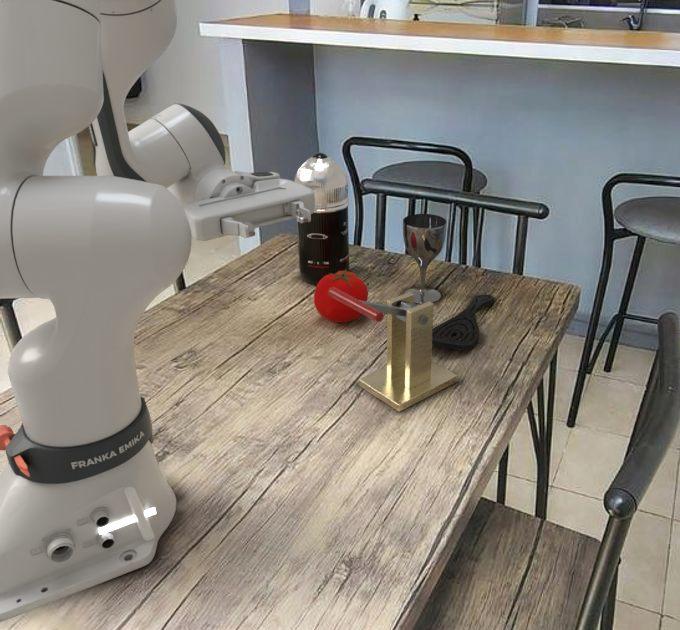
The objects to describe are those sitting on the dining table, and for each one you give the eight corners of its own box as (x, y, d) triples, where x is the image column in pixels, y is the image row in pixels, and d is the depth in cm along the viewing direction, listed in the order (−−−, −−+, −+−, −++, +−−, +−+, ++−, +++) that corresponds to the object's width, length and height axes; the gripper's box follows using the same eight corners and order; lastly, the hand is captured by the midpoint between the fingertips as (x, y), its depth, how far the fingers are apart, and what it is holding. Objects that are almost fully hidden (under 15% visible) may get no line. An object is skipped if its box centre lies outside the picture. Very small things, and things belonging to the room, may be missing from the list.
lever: (373, 325, 85) (379, 308, 85) (325, 299, 92) (330, 282, 91) (438, 334, 95) (444, 318, 95) (391, 310, 102) (396, 295, 101)
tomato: (311, 329, 117) (308, 284, 113) (320, 302, 126) (318, 261, 122) (365, 331, 117) (364, 286, 113) (370, 304, 126) (370, 262, 122)
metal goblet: (395, 290, 132) (395, 216, 125) (431, 284, 135) (434, 211, 128) (411, 307, 126) (413, 230, 119) (450, 300, 129) (454, 225, 122)
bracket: (399, 412, 96) (400, 326, 90) (358, 386, 102) (357, 303, 96) (457, 381, 104) (462, 300, 97) (417, 358, 109) (419, 280, 103)
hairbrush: (511, 289, 127) (461, 342, 106) (509, 307, 129) (460, 363, 108) (470, 281, 130) (413, 330, 109) (468, 298, 132) (412, 350, 111)
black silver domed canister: (354, 268, 141) (352, 147, 130) (344, 289, 132) (341, 161, 120) (305, 265, 142) (299, 144, 130) (292, 285, 133) (284, 158, 121)
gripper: (162, 193, 98) (210, 218, 89) (283, 169, 110) (335, 189, 102) (168, 235, 101) (215, 263, 92) (285, 207, 113) (336, 229, 105)
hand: (279, 224), depth 97 cm, fingers open, 8 cm apart
